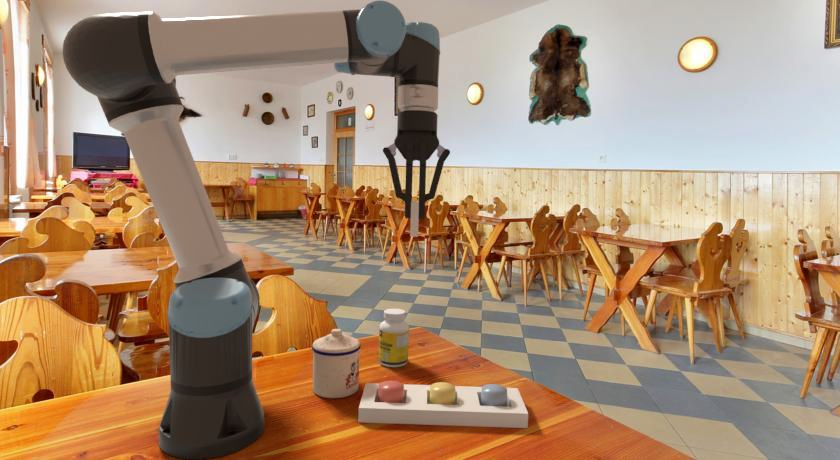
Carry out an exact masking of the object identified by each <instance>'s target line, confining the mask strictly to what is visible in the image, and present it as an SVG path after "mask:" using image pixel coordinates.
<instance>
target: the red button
mask: <svg viewBox="0 0 840 460" xmlns="http://www.w3.org/2000/svg"><path fill="white" fill-rule="evenodd" d="M403 384H404V383H403V382H401V381H398V380H384V381H382V382H380V384H379V394H378V402H385V403H403V400H404V385H403Z"/></svg>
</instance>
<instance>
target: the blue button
mask: <svg viewBox="0 0 840 460" xmlns="http://www.w3.org/2000/svg"><path fill="white" fill-rule="evenodd" d="M481 387H482V393H481V405H480V406H502V407H506V405H507V389H506V388H507V387H505V386H504V385H501V384H497V383H486V384H483V385H482V386H481Z"/></svg>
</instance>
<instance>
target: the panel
mask: <svg viewBox="0 0 840 460" xmlns="http://www.w3.org/2000/svg"><path fill="white" fill-rule="evenodd" d="M380 383H381V382H380ZM380 383H377V382H375V383H374V382H365V385H364V389H363V392H362V396H361V398H360V402H359V406H358V417H357V418H358V421H357V423H370V424H392V425H394V424H397V425H399V424H400V425H401V424H402V425H425V426H427V425H428V426H431V425H432V426H452V427H455V426H456V427H457V426H458V427H484V428H485V427H486V428H508V429H509V428H514V429H517V428H518V429H528V428H529V427H528V426H529V412H528V410H527V407H526V404H525V403H524V400H523V398H522V396H521V393H520V390H519V389H518V387H505V388H506V389H507V405H506V407H502V406H481V393H482V386H469V385H468V386H464V385H459V386H458V385H454V386H455V405H444V404H430V386H431V385H432V384H405V383H403V385H404V400H403V403H385V402H378V394H379V384H380Z"/></svg>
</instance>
